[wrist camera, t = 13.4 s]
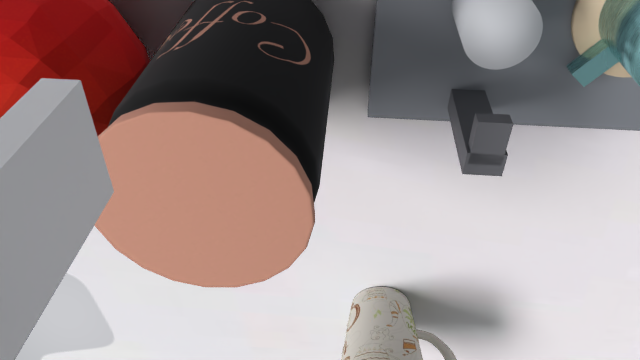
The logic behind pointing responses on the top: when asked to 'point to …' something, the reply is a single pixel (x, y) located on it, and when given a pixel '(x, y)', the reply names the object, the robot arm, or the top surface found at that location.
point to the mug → (385, 328)
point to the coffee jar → (222, 144)
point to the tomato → (69, 51)
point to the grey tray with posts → (494, 71)
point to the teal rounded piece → (612, 43)
